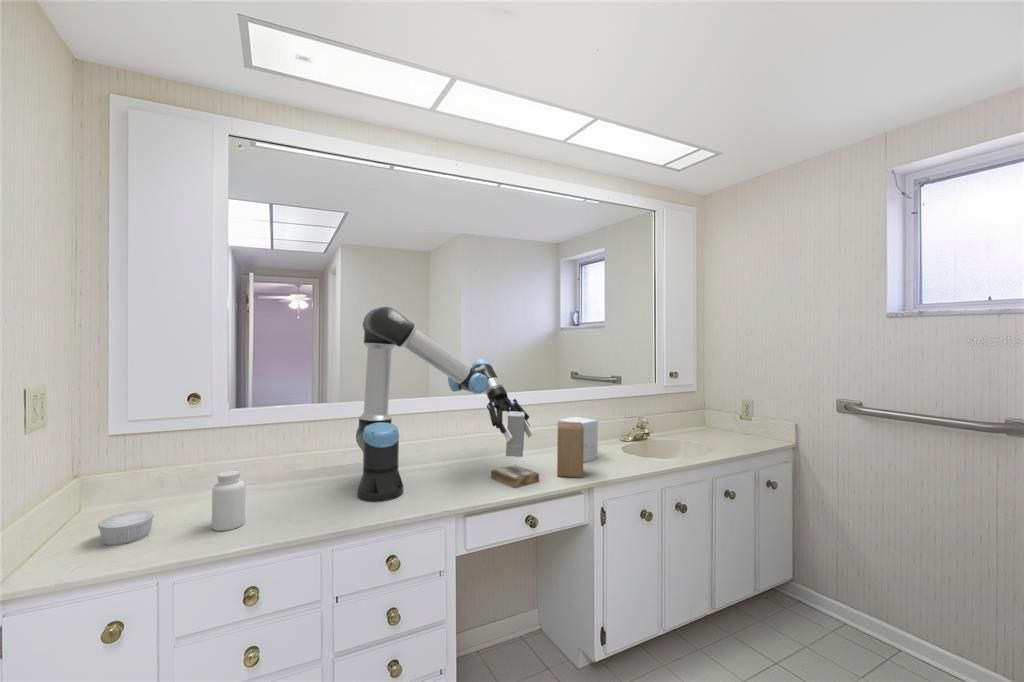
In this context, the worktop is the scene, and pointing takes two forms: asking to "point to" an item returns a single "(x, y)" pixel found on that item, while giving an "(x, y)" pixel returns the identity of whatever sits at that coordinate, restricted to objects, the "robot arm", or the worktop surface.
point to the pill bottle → (228, 501)
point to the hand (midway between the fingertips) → (520, 437)
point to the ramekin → (125, 527)
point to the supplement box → (587, 436)
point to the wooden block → (570, 449)
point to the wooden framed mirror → (514, 476)
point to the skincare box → (515, 434)
